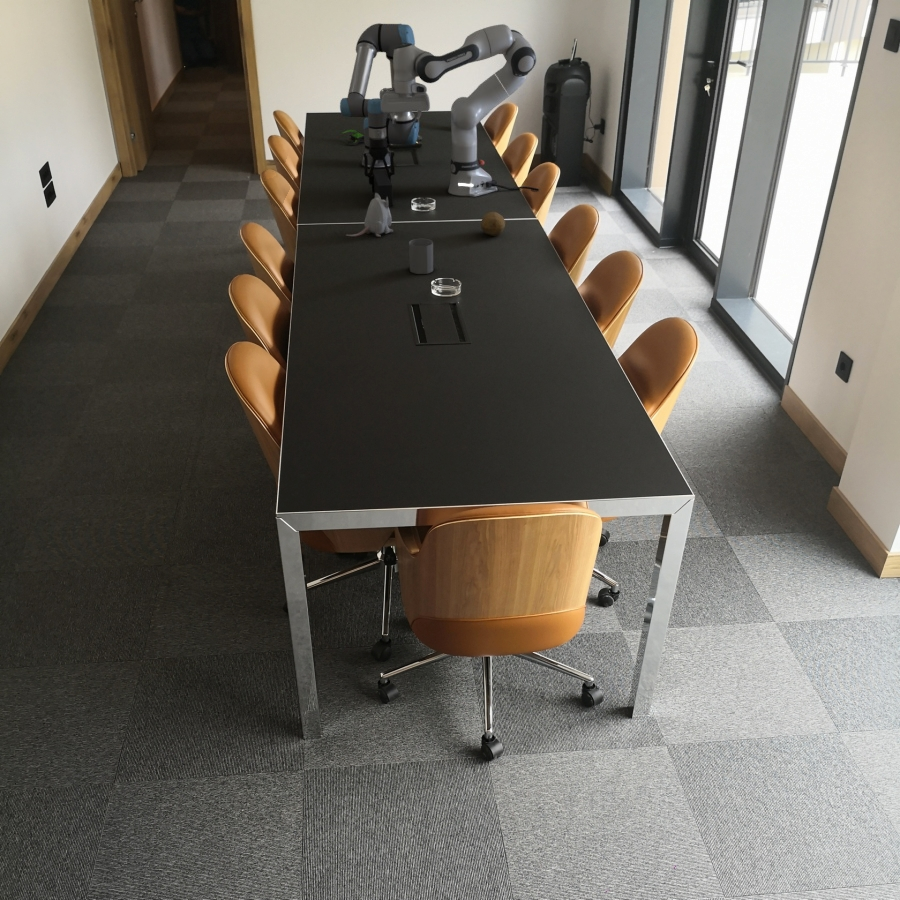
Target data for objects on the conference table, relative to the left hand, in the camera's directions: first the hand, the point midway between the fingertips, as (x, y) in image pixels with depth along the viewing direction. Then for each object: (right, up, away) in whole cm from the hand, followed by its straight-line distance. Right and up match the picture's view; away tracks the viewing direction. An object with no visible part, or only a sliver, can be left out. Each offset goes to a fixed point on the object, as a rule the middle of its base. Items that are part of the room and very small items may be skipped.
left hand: (380, 191), depth 386 cm
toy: (-1, -32, -48) cm, 58 cm away
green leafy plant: (-13, +50, +81) cm, 96 cm away
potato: (+48, -31, -45) cm, 72 cm away
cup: (+21, -51, -77) cm, 95 cm away
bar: (+2, -5, -7) cm, 9 cm away
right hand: (+13, +20, -26) cm, 36 cm away
